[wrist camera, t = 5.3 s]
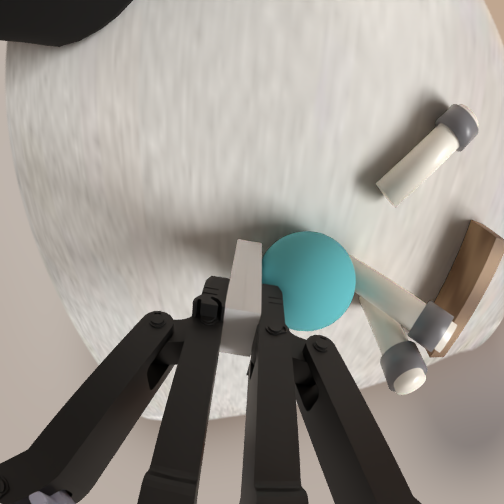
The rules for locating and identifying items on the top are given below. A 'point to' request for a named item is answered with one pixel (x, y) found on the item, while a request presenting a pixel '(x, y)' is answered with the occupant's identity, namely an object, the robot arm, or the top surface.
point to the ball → (310, 279)
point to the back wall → (469, 277)
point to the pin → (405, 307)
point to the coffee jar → (55, 19)
